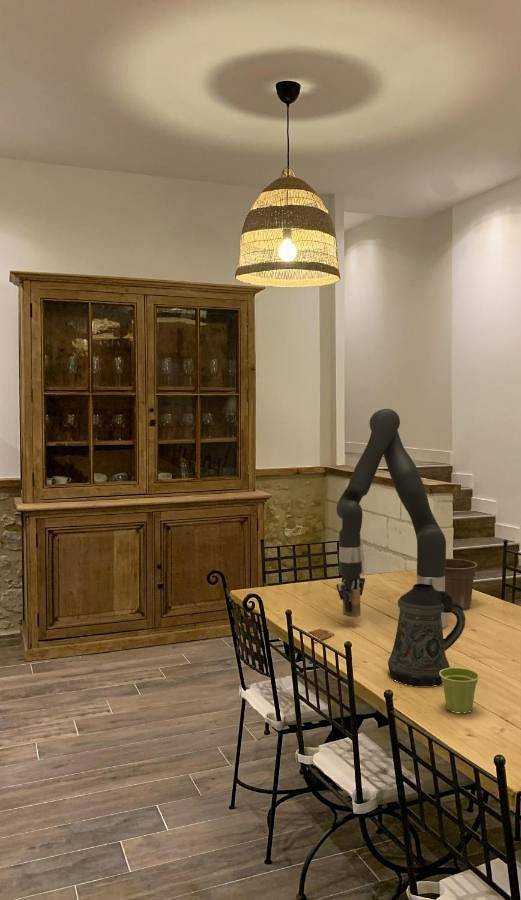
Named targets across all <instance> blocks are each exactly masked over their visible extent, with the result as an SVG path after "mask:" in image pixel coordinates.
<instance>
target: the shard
mask: <svg viewBox="0 0 521 900" xmlns="http://www.w3.org/2000/svg"><path fill="white" fill-rule="evenodd" d="M308 633H310V634H312V635H313V636H315V637H317V638H318V639H320V640H322V639H324V640H326V639H325V638H327V639H329V638H328V637H330V636H333V635H334V636H335V633H334V632H332V631H331V630H328V629H322V628H316V629H314V630H312V631H311V630H310V631H308ZM308 633H307V634H308ZM334 636H333V637H334ZM330 638H331V637H330ZM322 641H323V640H322ZM314 644H317V643H316V642H315V643H314Z"/></svg>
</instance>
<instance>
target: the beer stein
mask: <svg viewBox="0 0 521 900" xmlns="http://www.w3.org/2000/svg"><path fill="white" fill-rule="evenodd" d="M397 607H398V610H399V613H398V614H399V615H398V620H397V627H396V631H395V632H396V633H395V638H394V641H393V642H394V643H393V647H392V650H391V653H390V656H389V658H388V660H387V666H388V671H389V673H388V675H389V674H390V675H389V677H390V676H391V677H390V678H391V679H393V680H392V681H394V680H396V681H398V682H397V683H399V682H401V683H403V684H402V685H404V684H407V685H406V686H409V685H412V686H411V687H415V686H419V687H418V688H421V687H420V686H434V685H439V686H441V685H440V684H442V683H443V682H442V680H441V677H440V675H439V672H440V671H441V670H443V669H446V668H451V666H450V663H449V661H448V658H447V656H446V655H447V654H446V651H447V650H449V649H450V648H451V647H452V646H453V645H454V644H455V643H456V642H458V639H459V638H460V637H461V636H462V633H463V632H464V630H465V626H466V619H467V618H466V614H465V612H464V611H465V610H464V609H463V608H462V607H461V606H460V605H458V604H457V603H456V602H452V598H451V596H449V594H448V593H447V592H445V591H437V590H436V589H434V587H433V586H432V585H428V584H417V583H416V584H413V586H412V588H411V589H410V590H408V591H407V592H405V593H404V594H403V595H401V596H400V597H399V599H398V600H397ZM442 612H444V613H447V614H453V615H454V616H455V617H456V623H455V625H454V627H453V628H452V630H451V631H450V633H449V634H447V636H446V637H445V638H444V631H443V630H444V628H442V621H441V613H442ZM396 681H395V682H396ZM401 683H400V684H401ZM442 685H443V684H442ZM434 687H435V686H434Z"/></svg>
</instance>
